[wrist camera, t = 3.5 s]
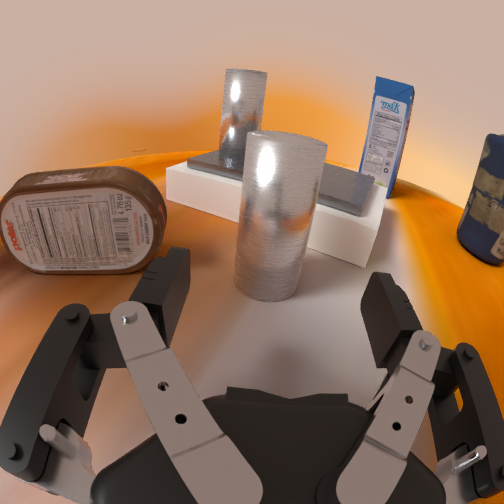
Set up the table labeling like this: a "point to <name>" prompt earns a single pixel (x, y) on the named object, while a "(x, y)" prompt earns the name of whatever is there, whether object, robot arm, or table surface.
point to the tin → (83, 221)
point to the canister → (486, 205)
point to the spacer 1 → (241, 110)
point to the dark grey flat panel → (331, 187)
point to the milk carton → (387, 131)
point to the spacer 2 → (276, 212)
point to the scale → (323, 225)
